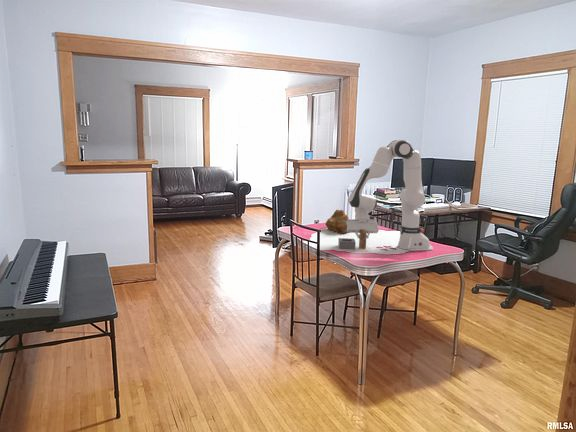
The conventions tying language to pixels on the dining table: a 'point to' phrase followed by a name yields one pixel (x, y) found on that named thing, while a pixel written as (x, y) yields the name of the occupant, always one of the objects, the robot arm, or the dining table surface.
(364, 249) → the cream base board
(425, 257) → the dining table surface
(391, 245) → the dining table surface
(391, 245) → the dining table surface
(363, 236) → the walnut slat
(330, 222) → the rough brown rock
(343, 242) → the charcoal end cap
